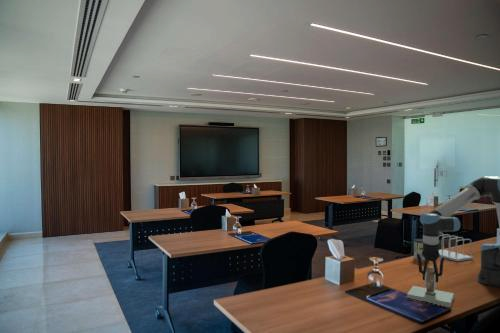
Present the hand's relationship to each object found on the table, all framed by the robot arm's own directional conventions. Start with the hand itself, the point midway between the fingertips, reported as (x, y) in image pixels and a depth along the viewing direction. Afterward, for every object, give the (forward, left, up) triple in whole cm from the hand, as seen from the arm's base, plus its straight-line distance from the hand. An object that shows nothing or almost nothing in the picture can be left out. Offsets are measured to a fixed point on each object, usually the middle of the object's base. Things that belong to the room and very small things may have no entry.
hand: (430, 287), depth 188 cm
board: (0, 0, -6) cm, 6 cm away
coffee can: (+18, -78, -6) cm, 80 cm away
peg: (0, 0, -4) cm, 4 cm away
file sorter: (+2, -98, -6) cm, 98 cm away
